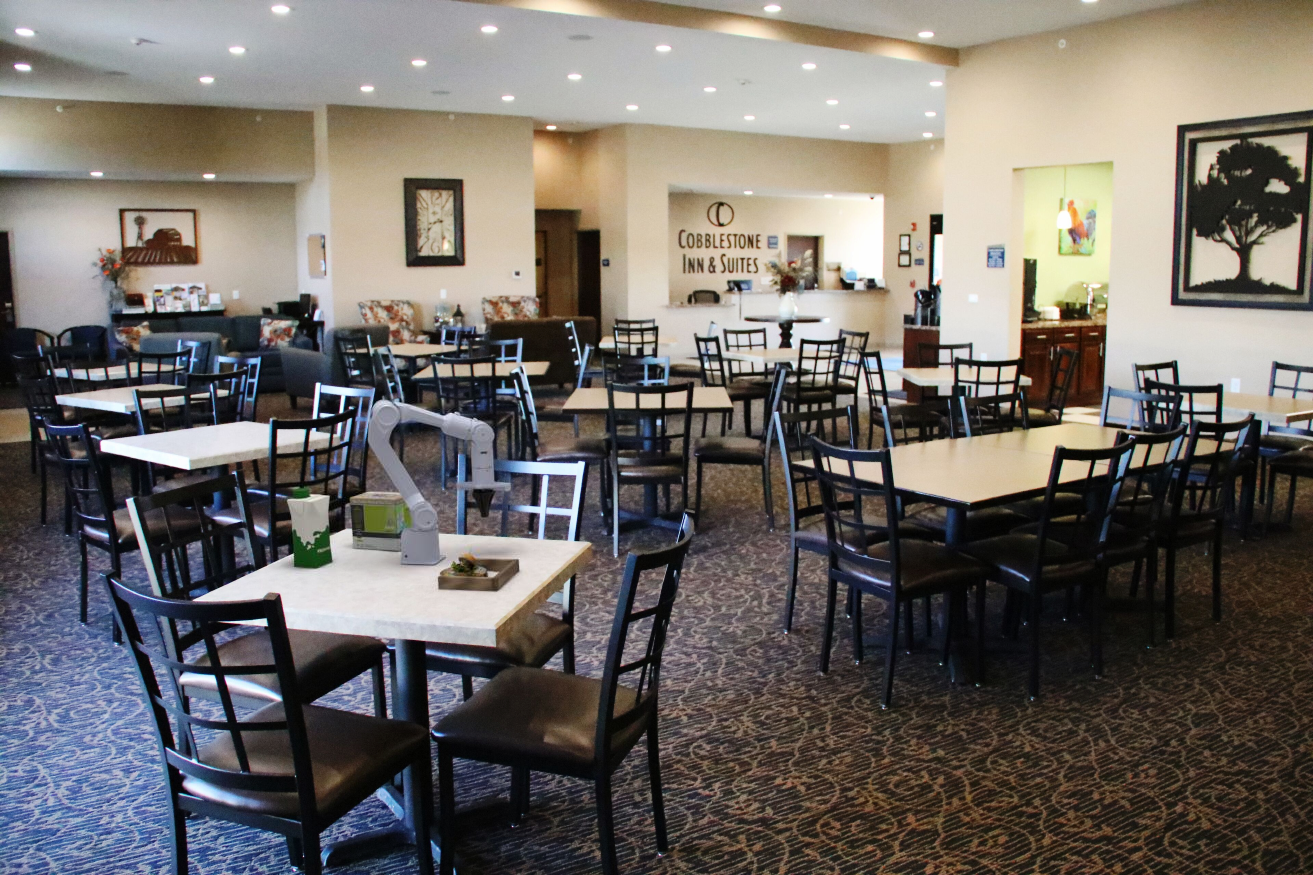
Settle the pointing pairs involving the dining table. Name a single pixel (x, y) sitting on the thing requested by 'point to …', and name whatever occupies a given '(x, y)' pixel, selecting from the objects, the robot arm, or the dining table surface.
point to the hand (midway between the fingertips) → (485, 516)
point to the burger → (465, 568)
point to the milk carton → (310, 529)
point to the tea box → (379, 520)
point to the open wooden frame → (504, 567)
